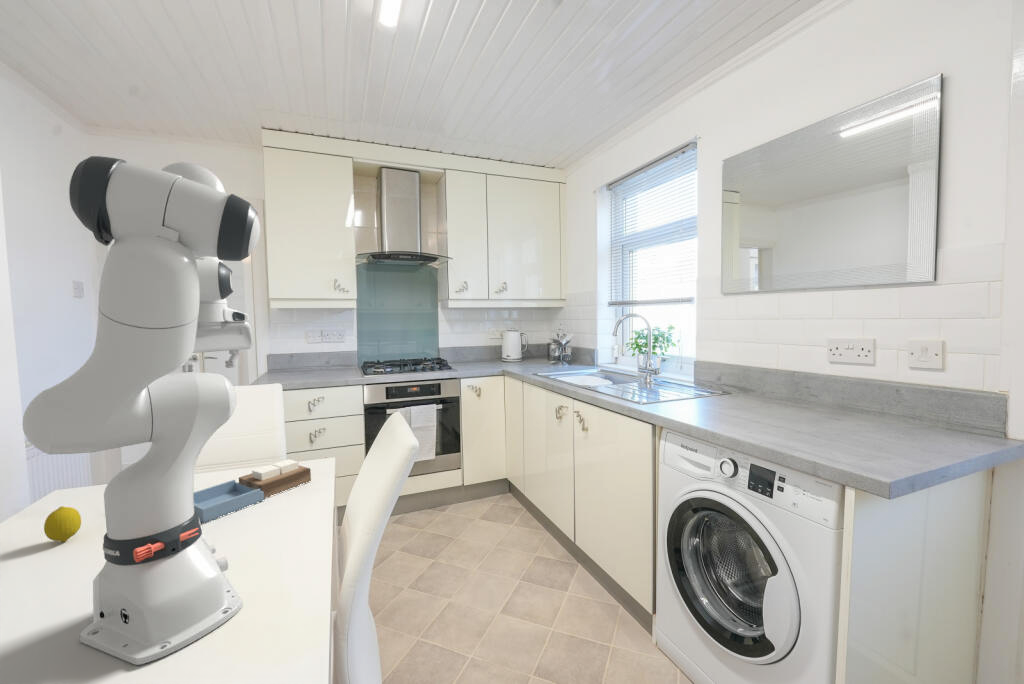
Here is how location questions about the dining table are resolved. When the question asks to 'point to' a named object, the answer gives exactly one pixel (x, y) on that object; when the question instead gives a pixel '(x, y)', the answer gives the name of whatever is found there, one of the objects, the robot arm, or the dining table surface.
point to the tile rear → (286, 465)
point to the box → (224, 499)
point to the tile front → (266, 472)
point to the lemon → (62, 524)
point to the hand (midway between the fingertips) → (209, 369)
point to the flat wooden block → (278, 481)
